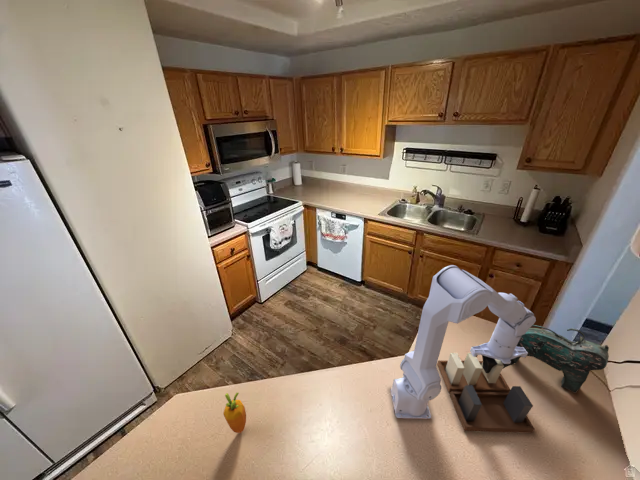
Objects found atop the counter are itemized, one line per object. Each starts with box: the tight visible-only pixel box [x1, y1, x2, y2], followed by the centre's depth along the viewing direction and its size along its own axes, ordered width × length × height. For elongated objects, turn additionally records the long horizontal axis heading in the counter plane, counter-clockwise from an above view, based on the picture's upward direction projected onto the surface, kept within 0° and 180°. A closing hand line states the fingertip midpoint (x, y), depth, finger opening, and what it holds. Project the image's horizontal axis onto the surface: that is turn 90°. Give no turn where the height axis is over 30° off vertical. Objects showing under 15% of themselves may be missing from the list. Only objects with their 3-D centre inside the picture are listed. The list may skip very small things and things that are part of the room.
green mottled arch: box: [513, 324, 610, 394], centre depth 75 cm, size 20×6×20 cm, turn 49°
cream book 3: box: [481, 359, 504, 383], centre depth 76 cm, size 2×5×8 cm, turn 178°
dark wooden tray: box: [449, 392, 536, 434], centre depth 70 cm, size 17×9×2 cm, turn 88°
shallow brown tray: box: [436, 359, 511, 393], centre depth 79 cm, size 17×9×2 cm, turn 88°
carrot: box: [223, 392, 247, 434], centre depth 65 cm, size 5×5×15 cm
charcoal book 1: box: [458, 385, 482, 422], centre depth 69 cm, size 2×5×8 cm, turn 178°
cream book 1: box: [445, 352, 465, 385], centre depth 78 cm, size 2×5×8 cm, turn 178°
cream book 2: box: [463, 352, 483, 385], centre depth 77 cm, size 2×5×8 cm, turn 178°
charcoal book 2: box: [503, 385, 534, 423], centre depth 68 cm, size 2×5×8 cm, turn 178°
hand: (489, 370), depth 77 cm, fingers closed on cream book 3, 2 cm apart
